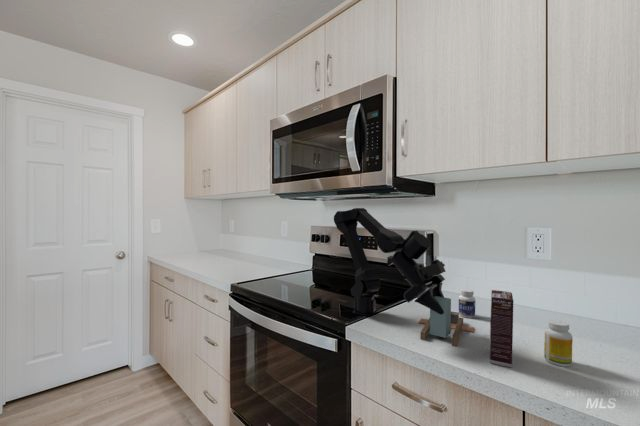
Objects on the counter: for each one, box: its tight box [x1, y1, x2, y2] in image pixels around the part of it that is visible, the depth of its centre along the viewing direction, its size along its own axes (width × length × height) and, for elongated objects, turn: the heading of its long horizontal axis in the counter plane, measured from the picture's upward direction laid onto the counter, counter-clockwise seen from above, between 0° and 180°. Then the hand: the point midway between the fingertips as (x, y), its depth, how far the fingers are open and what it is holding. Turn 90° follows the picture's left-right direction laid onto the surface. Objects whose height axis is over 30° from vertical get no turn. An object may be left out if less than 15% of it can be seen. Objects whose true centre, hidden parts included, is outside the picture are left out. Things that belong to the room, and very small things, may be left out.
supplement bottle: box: [543, 319, 573, 368], centre depth 76 cm, size 5×5×10 cm
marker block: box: [429, 296, 452, 339], centre depth 90 cm, size 4×4×10 cm
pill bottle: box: [457, 288, 476, 319], centre depth 109 cm, size 5×5×9 cm
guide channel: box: [418, 310, 475, 347], centre depth 96 cm, size 16×21×3 cm
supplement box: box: [489, 289, 514, 368], centre depth 77 cm, size 9×5×16 cm, turn 151°
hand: (445, 311), depth 89 cm, fingers closed on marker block, 4 cm apart
